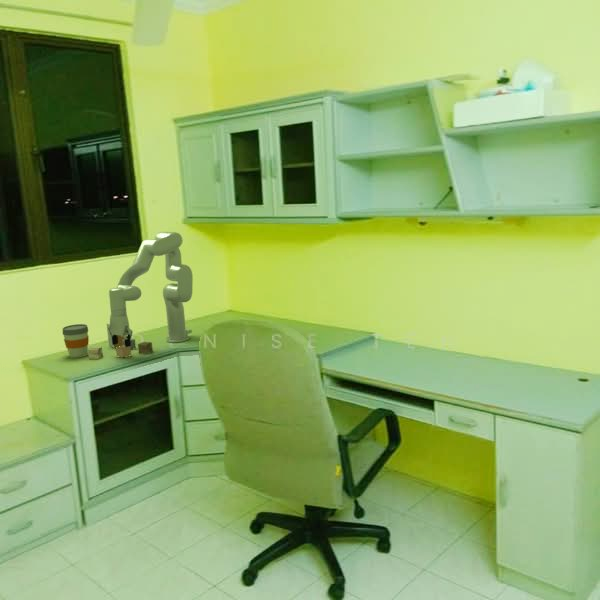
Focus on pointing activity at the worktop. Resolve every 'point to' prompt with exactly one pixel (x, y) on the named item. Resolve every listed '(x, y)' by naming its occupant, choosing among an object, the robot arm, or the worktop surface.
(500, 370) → the worktop surface
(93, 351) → the pale oak cube
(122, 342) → the slate grey cube
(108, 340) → the small box
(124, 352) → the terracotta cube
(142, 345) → the walnut cube
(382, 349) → the worktop surface
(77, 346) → the reusable coffee cup
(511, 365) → the worktop surface
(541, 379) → the worktop surface
